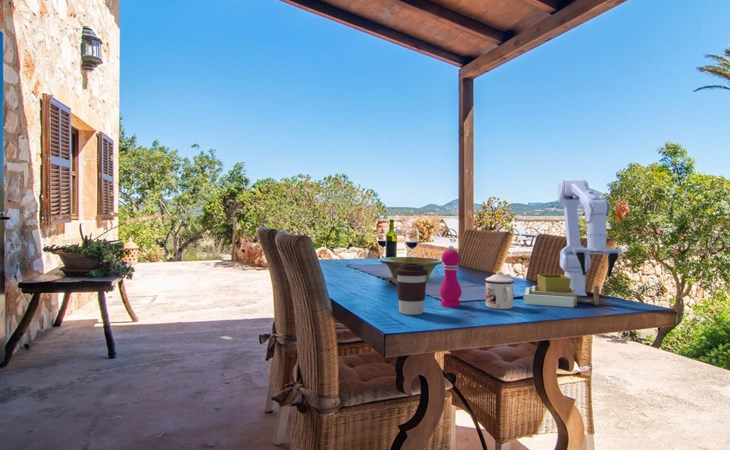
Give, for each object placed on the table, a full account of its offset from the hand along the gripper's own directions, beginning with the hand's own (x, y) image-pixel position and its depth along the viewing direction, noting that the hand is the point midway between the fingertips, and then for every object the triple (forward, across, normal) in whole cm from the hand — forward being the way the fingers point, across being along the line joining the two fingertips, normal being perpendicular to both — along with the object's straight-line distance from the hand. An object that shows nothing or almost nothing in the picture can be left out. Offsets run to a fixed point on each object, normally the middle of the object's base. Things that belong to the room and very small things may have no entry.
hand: (596, 275), depth 153 cm
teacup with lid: (+10, -30, -17) cm, 36 cm away
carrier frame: (+10, -10, +1) cm, 14 cm away
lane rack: (+10, -15, +1) cm, 18 cm away
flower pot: (+10, -14, +1) cm, 17 cm away
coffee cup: (+10, -54, -36) cm, 66 cm away
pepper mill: (+10, -46, -20) cm, 51 cm away
